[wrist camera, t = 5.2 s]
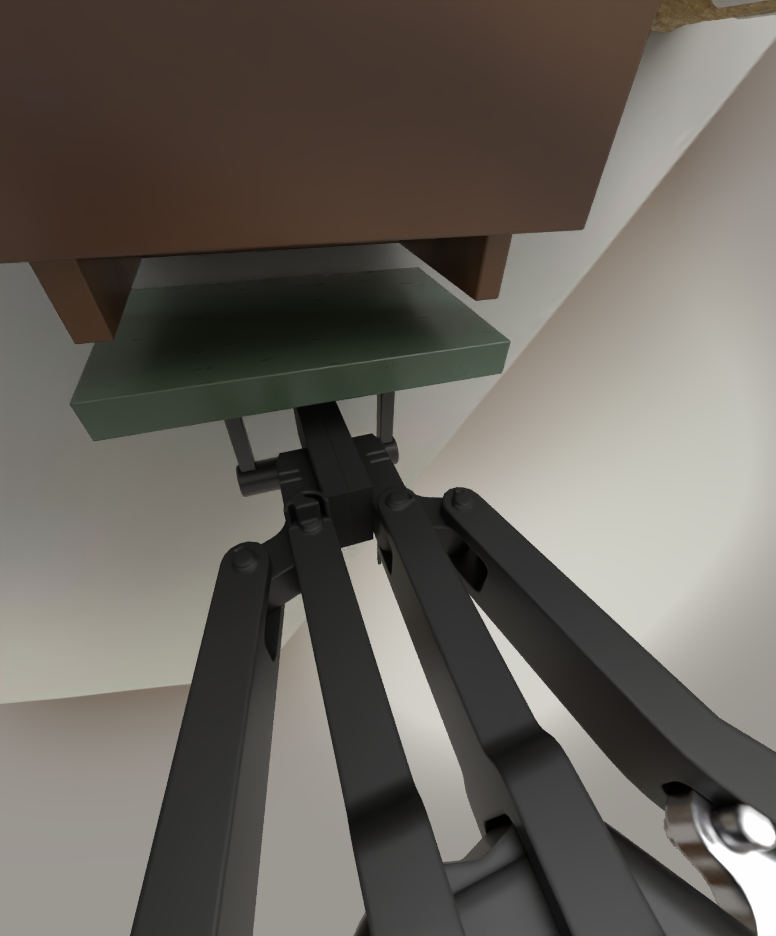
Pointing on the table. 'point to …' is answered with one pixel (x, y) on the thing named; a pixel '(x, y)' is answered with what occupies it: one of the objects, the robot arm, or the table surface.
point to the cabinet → (303, 120)
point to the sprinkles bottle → (707, 11)
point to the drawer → (273, 341)
